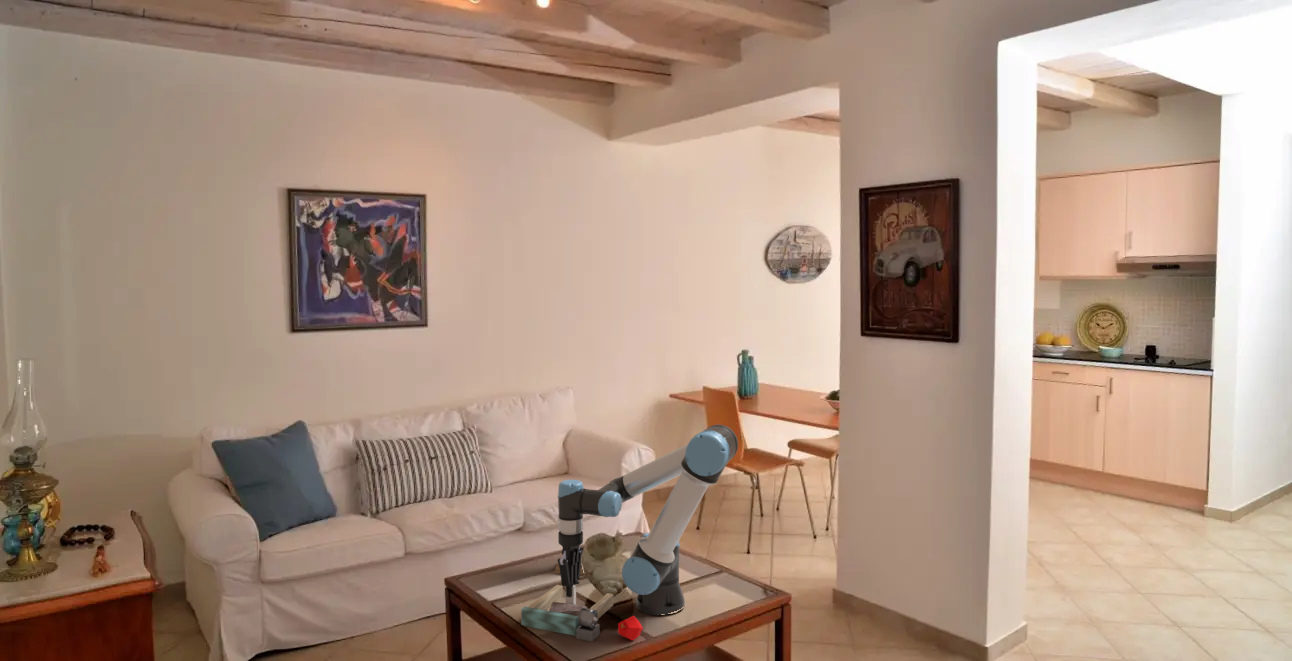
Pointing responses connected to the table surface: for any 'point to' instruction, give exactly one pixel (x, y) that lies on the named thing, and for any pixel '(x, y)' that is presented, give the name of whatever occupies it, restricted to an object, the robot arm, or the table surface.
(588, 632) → the winch
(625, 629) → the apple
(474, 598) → the table surface
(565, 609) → the stone
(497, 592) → the table surface
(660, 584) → the robot arm
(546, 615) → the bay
